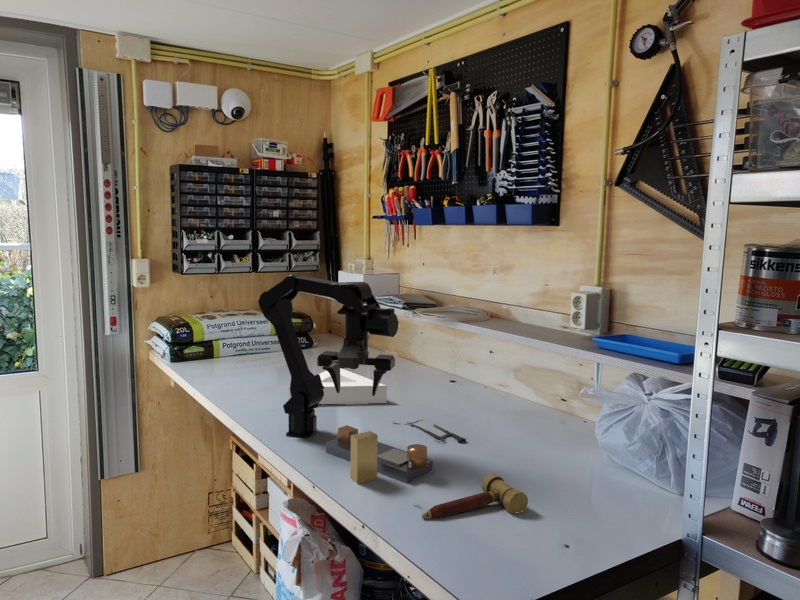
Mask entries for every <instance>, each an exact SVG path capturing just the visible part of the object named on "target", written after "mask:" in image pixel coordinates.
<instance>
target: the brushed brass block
mask: <svg viewBox="0 0 800 600" xmlns="http://www.w3.org/2000/svg"><path fill="white" fill-rule="evenodd" d="M378 438H379V437H378V434H376V433H375V432H373V431H372V430H369V431H364V432H358V434H353V435H351V462H350V471H349V475H350V480H351V479H352V480H351V481H352V482H354V483H355V482H356V483H357V485H359V484H361V483H362V482H363V483H366V482H369V481H370V482H371V481H373V480H374V481H375V480H377V479H378V472H377V443H378V442H379V441H378ZM356 483H355V484H356ZM358 483H359V484H358Z"/></svg>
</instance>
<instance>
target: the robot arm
mask: <svg viewBox="0 0 800 600" xmlns="http://www.w3.org/2000/svg"><path fill="white" fill-rule="evenodd" d="M300 292H301V293H306V294H309V295H315V296H316V295H317V296H321V297H325V298H331V299H332V300H335V302H337V303H338V304H340V305H342V307H341V308H340V309H338V310H337V311H336V313H337V314H338V315H344V338H343V341H342V342H343V343H342V344H343V345H342V347H341V349H340V350H339V351H331V350H325V351H323V352H321V353H320V354H319V355H318V356H317V358H316V359H317V360H316V363H317V366H318V367H322V368H321V369H322V370H325V371H328V372H329V374H330V376H331V378H332V380H333V383H334V386H335V389H336V391H337V393H340V368H342V369H344V370H345V369H351V370H356V369H358V368H359V367H360V365H361V366H374V368H375V369H374V370H373V372H372V373H373V379H372V380H373V389H372V394H373V396H375V394H376V391H377V388H378V386H379V383H381V380H382V378H383V376H384V374H386V373H388V372H390V371H391V370H393V368H394V367H395V366H396V358H395V356H394V355H393V354H378V355H377V356H376V357H369V339H370V336H369V334H370V335H372V336H381V337H390V338H395V336H396V334H397V332H398V330H399V326H400V325H399V324H400V323H399V320H398V317H397V314H396V313H395V308H391V307H390V308H389V307H388V308H381V305H380V303H379V302H378V300H377V299H376V297H375V296H374V294H373V291H372V288H371V286H370V284H369V283H367V282H365V281H348V282H347V281H345V282H341V281H340V282H338V281H332V280H327V279H321V278H317V277H313V276H306V275H303V274H300V273H296V274H289V275H287V276H286V277H285V278H284V279H282V280H281V281H280V282H279V283H277V284H275V285H274V286H272V287H271V288H269V289H268V290H266V291H263V292H262V293H261V294H260V295H259V298H258V302H257V303H258V307H259V309H260V312H261V313H262V315H263V317H264V318H265V319H266V320H267V321H268V322H269V323H270V324H271V325H272V326H273V328H274V332H275V334H276V337H277V339H278V344H279V347H280V349H281V352H282V354H283V357H284V360H285V363H286V365H287V366H286V367H287V369H288V371H289V374H290V384H289V387H290V393H291V398H290V399H289V398H288V400H287V401H286V402H285V403H284V404H283V406H282V407H283V410H284V413H285V414H287V415H288V431H287V432H285V436H288V437H289V436H290V437H298V438H310V437H311V436H313V434H315V432H317V430H318V427H317V423H318V422H317V420H318V419H317V415H315V414H316V412H315V410H316V409H317V408H319V406H320V405H319V402H320V401H321V400H322V398H323V396H324V391H323V389H324V388H325V387H324V386H323V385H322V382H321V378H320V375H319V374H320V373H317V374H315V375H314V373H312V371H311V370H310V368H309V365H308V363H307V361H306V357H305V355H304V352H303V349H302V345H301V344H300V340H299V337H298V335H297V332H296V329H295V326H294V324H293V320H292V317H293V309H294V308H293V307H294V306H293V303H292V302H293V301H294V299H296V297H297V296H298V295H299V293H300Z"/></svg>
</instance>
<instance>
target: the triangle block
mask: <svg viewBox="0 0 800 600" xmlns="http://www.w3.org/2000/svg"><path fill="white" fill-rule="evenodd" d="M318 374H319V375H320V378H321V382H322V385H323V386H324V387H325V388H324V389H323V391H324V396H323V398H322V400H321V401H320V402H319V404H322V405H321V406H324V405H323V404H346V405H369V404H368V403H388V402H387V401H388V395H387V394H388V393H387V392H388V385H386V384H385V383H381V382H380V383H379V386H378V388H377V391H376V394H375V396H373V394H372V389H373V380H374V379H370V378H367V377H366V376H362V375H360V374H357V373H354V372H351V371H349V370H346V369H345V368H344V369H342V368H340V393H337V391H336V389H335V386H334V383H333V380H332V378H331V376H330V374H329V372H328V371H327V370H325V371H322V372H320V373H318ZM290 398H291V393H290V386H289V387H288V400H289V399H290Z"/></svg>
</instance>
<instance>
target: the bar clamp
mask: <svg viewBox="0 0 800 600" xmlns="http://www.w3.org/2000/svg"><path fill="white" fill-rule="evenodd" d="M422 421H424V419H420V420H419V419H418V420H416V421H414V422H413V421H412V422H411V421H410V422H407V423H405V426H407V425H408V426H410V427H411V428H416V429H417V430H420V431H421V430H422V432H424V433H426V434H427V435H429V436H431V437H433V438H434V442H436V443H444V442H446V438H449V437H451V438H453V439H454V440H456V441H457V443H459V444H465V443H467V439H466V438H465V437H462V436H459V435H458V434H455V433H453V432H450V431H449V430H447V429H444V428H443V427H440V426H438V425H436V424H433V425H432V426H433V427H434V428H435V429H438V430H439V431H441V432H443V433H444V434H442V435H441V436H440V435H438V434H436V433H433V432H432V431H430V430H427V429H425V428H423V427H422V426H419V425H416V423H418V422H422ZM393 424H394V425H400V423H396V422H393ZM436 439H437V440H440V441H437V440H436Z"/></svg>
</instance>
